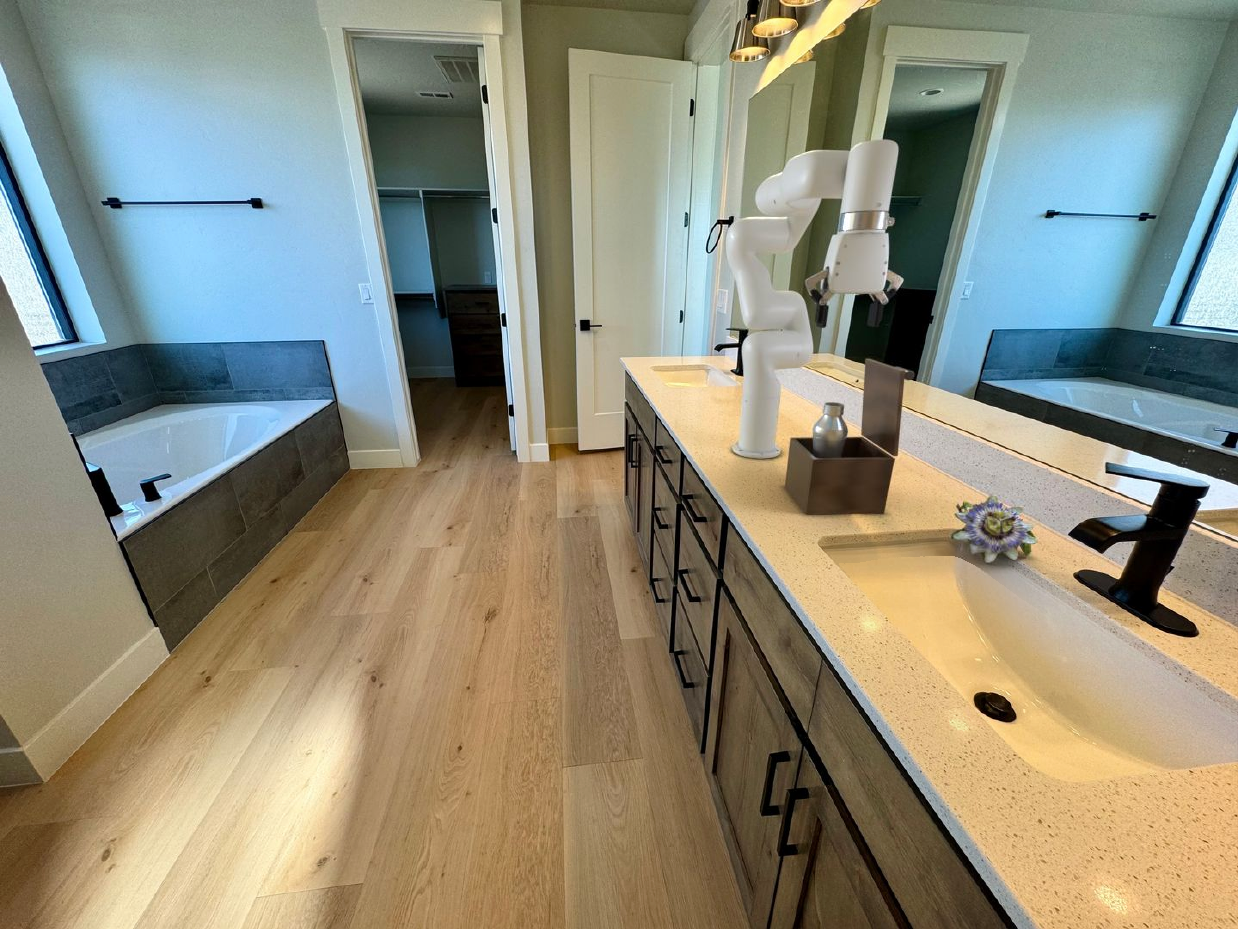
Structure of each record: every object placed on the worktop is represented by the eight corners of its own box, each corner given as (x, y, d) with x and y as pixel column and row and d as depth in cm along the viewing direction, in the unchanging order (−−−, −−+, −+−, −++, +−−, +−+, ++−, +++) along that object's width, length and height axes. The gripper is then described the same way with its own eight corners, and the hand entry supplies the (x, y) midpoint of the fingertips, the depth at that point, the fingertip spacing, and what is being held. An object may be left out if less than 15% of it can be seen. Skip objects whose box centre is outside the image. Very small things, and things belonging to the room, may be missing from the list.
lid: (900, 371, 88) (929, 367, 87) (865, 358, 100) (890, 355, 100) (893, 456, 94) (920, 453, 93) (861, 434, 106) (884, 432, 106)
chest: (805, 514, 98) (813, 459, 94) (784, 487, 111) (790, 437, 107) (884, 513, 98) (895, 458, 94) (853, 486, 111) (862, 436, 106)
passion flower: (979, 588, 83) (951, 540, 80) (957, 546, 92) (931, 501, 89) (1059, 566, 78) (1033, 513, 74) (1027, 524, 87) (1002, 474, 83)
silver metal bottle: (841, 504, 101) (856, 409, 93) (806, 501, 102) (819, 407, 95) (834, 491, 106) (849, 401, 99) (802, 489, 108) (813, 399, 100)
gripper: (900, 226, 89) (883, 324, 95) (804, 227, 89) (793, 325, 95) (924, 222, 82) (903, 328, 88) (820, 224, 82) (807, 329, 88)
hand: (846, 326), depth 92 cm, fingers open, 9 cm apart
